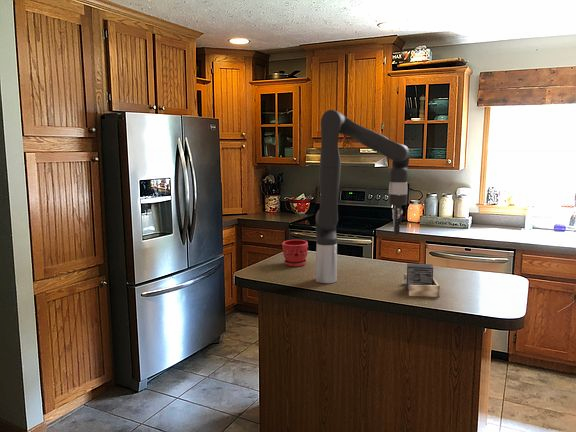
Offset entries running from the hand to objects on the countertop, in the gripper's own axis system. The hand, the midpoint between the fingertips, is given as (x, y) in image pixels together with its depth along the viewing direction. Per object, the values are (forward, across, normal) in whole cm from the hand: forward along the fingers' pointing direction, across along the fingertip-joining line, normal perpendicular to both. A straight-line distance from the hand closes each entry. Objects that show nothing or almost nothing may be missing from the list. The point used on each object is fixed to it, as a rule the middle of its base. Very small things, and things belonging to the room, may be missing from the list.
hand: (396, 234), depth 195 cm
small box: (+24, 0, +10) cm, 26 cm away
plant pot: (+24, -36, -47) cm, 64 cm away
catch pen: (+23, +1, +10) cm, 26 cm away
